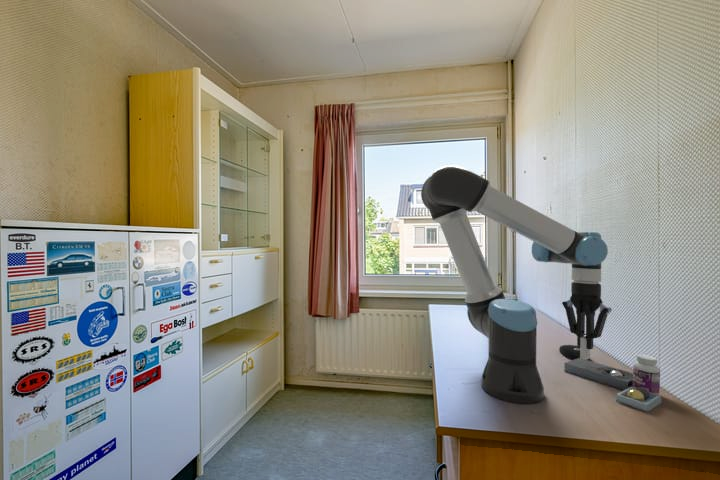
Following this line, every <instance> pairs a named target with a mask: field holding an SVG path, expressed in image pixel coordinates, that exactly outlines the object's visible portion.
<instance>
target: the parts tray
mask: <svg viewBox="0 0 720 480" xmlns="http://www.w3.org/2000/svg"><path fill="white" fill-rule="evenodd" d="M630 389H636V388H635V387H630V388H628V389H626V390H622V391H619V392H618V393H617V394H616V402H617V403H620V404H622V405H626V406H628V407H631V408H634V409H636V410H639V411H642V412H645V413H648V412H650V411H651V410H653V409H655V408H656V407H658V406H659V405H660V404H662V395H660V394H659V395H657V394H654V393H651V392H649V398H648V399H644V401H643V402H640V401H637V400H634V399H631V398H628V396H627V392H628V391H629V390H630Z"/></svg>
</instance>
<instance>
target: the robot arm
mask: <svg viewBox="0 0 720 480" xmlns="http://www.w3.org/2000/svg"><path fill="white" fill-rule="evenodd" d="M420 197H421V201H422V203H423V205H424V207H425V208H427V209H428V211H429V213H430V216H431V218H432V221H433V222H435V223H437V224H439V225H440V228H441V230H442V232H443V233H442V234H443V235H444V238H445V240H446V243H447V245H448V248H449V250H450V253H451V256H452V258H453V260H454V263H455V266H456V269H457V270H458V271H457V272H458V273H459V276H460V279H461V281H462V284H463V286H464V288H465V292H466V296H465V298H464V302H465V304H466V307H467V308H466V309H467V312H466V313H467V314H466V315H467V318H468V320H469V321H468V322H470V324H471V326H472V328H474V330H476V331H477V332H479V333H480V334H482V335H484V336H485V337H486V338H487V339H488V357H487V362H486V363H485V367H484V369H483V372H482V375H481V388H482V389H483V390H484V391H485V392H486V393H487V394H489V395H490V396H493V397H495V398H497V399H500V400H503V401H506V402H511V403H516V404H536V403H539V402H541V401H543V400H544V397H545V392H544V391H545V388H544V385H543V381H542V378H541V375H540V372H539V369H538V366H537V334H538V333H537V327H538V319H537V311H536V309H535V308H534V306H532V304H531V305H530V304H529V303H527V302H523V301H520V300H519V301H518V300H517V299H510V298H509V299H508V298H506V296H505V294H504V291H503V289H502V287H499V286H497V285H495V283H494V280H493V278H492V275H491V272H490V271H489V268H488V265H487V262H486V260H485V257H484V255H483V252H482V250H481V247H480V244H479V242H478V240H477V237H476V234H475V232H474V230H473V226H472V225H471V222H470V220H469V217H468V215H467V212H469V213H472V212H477V213H479V214H481V215H483V216H484V217H487V218H489V219H491V220H493V221H494V222H496V223H498V224H500V225H502V226H504V227H505V228H508V229H509V230H511V231H513V232H515V233H517V234H519V235H520V236H522V237H524V238H526V239H528V240H530V241H532V244H531V255H532V259H534V260H535V261H536V262H540V263H541V262H542V263H559V264H560V263H561V264H570V265H571V280H572V282H571V289H570V290H571V292H570V293H571V296H570V298H569V299H568V300H566V301H562V303H561V305H562V307H564V309H565V314H566V318H567V321H568V322H567V323H568V325H569V331H570V333H572V334H575V335H576V336H577V337H576V338H577V340H576V341H577V342H576V346H579V347H580V359H584V360H587V359H589V360H590V358H591V350H593V348H594V340H595V339H597V338H601V336H602V333H603V330H604V327H605V324H606V321H607V317H608V315H609V314H610V313H611V312H612V311H613V309H612V308H611V307H610V306H609V307H608V306H607V305H605V304H603V300H602V284H601V283H600V282H602V263H603V262H604V261H605V260H606V258H607V256H608V253H609V249H608V245H607V243H606V242H605V240H603V239H602V235H601V233H599V232H597V231H596V232H594V231H593V232H592V231H587V232H586V231H584V232H583V231H582V232H581V231H576V230H575V229H572V228H570V227H568V226H566V225H565V224H562V223H560V222H559V221H557V220H554V219H553V218H551V217H549V216H548V215H544V214H543V213H541V212H539V211H538V210H536V209H534V208H532V207H530V206H528V205H526V204H525V203H523V202H521V201H520V200H517V199H515V198H513V197H511V196H509V195H508V194H506V193H504V192H502V191H500V190H498V189H497V188H495V187H493V186H491V182H490V180H488V179H486V178H484V177H483V176H481V175H479V174H477V173H475V172H473V171H472V170H468V169H466V168H464V167H461V166H458V165H452V164H451V165H449V164H448V165H444V166H441V167H439V168H437V169H436V170H435V171H434V172H433V173H432V174H431V175H430V176H428V178H427V179H426V180H425V181H424V183H423V185H422V188H421V193H420ZM573 306H574V307H573ZM597 310H599V314H598V316H597V320H596V323H595V317H596V311H597ZM575 313H576V315H575Z"/></svg>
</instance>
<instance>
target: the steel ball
mask: <svg viewBox="0 0 720 480" xmlns="http://www.w3.org/2000/svg"><path fill="white" fill-rule="evenodd" d="M610 374H611V375H615V376H623V375H622V373H620V372H619V371H616V370H614V371H611V372H610Z"/></svg>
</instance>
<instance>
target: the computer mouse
mask: <svg viewBox="0 0 720 480" xmlns="http://www.w3.org/2000/svg"><path fill="white" fill-rule="evenodd" d="M558 351H559V353H560V354H561V355H562V356H564V357H565V358H566V359H568V360H569V361H572V360H575V359H577V358H580V347H579V346H578V345H577V344H576V345H575V344H574V345H573V344H572V343H569V344H563V345H560V346H559V349H558ZM587 360H588V361H590V359H587Z"/></svg>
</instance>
